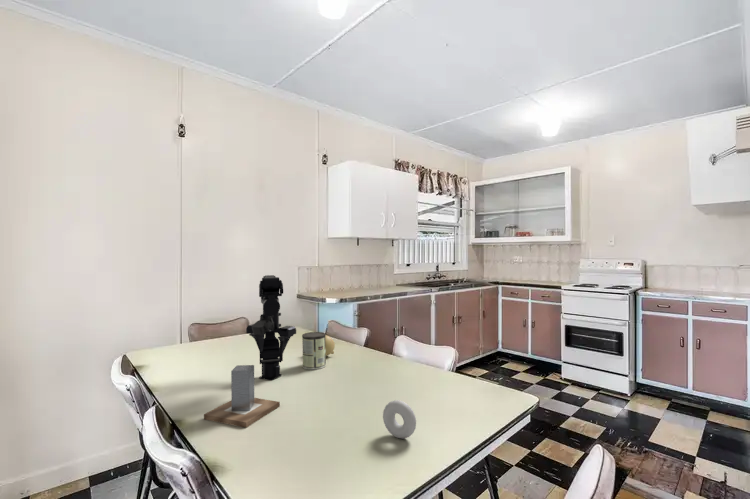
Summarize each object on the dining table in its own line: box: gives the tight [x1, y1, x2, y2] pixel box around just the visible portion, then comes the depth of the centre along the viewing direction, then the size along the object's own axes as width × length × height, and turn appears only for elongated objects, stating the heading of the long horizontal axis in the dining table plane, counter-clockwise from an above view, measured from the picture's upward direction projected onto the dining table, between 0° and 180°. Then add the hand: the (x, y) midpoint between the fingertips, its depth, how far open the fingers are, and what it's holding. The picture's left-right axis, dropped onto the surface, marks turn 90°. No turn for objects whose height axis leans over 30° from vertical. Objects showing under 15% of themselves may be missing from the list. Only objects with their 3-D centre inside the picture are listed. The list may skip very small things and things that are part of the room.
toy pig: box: [325, 335, 336, 357], centre depth 183 cm, size 10×12×11 cm
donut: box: [382, 399, 417, 440], centre depth 102 cm, size 10×4×10 cm, turn 55°
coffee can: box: [301, 331, 327, 370], centre depth 167 cm, size 10×10×14 cm
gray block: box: [230, 364, 255, 411], centre depth 119 cm, size 6×6×12 cm
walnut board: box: [203, 397, 281, 429], centre depth 119 cm, size 16×16×2 cm
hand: (271, 353), depth 141 cm, fingers open, 9 cm apart
